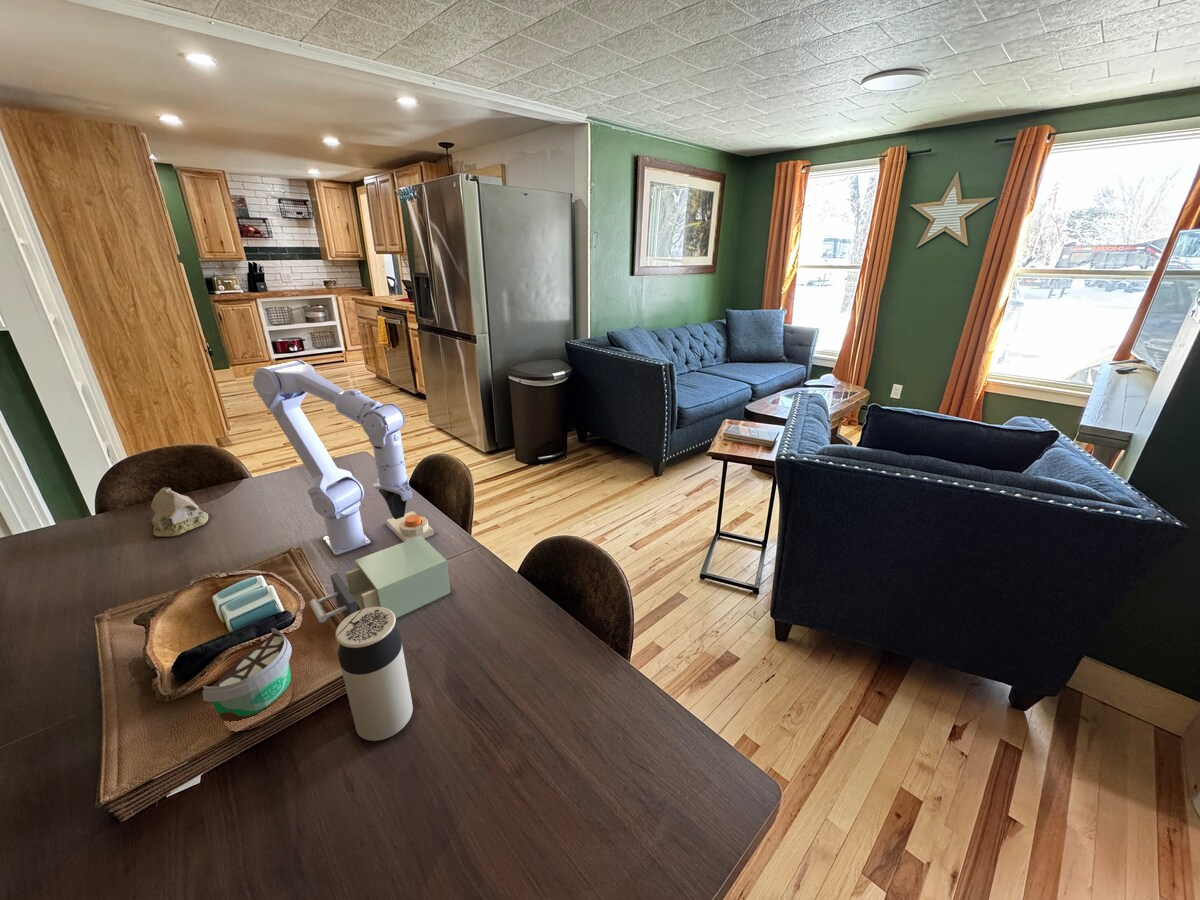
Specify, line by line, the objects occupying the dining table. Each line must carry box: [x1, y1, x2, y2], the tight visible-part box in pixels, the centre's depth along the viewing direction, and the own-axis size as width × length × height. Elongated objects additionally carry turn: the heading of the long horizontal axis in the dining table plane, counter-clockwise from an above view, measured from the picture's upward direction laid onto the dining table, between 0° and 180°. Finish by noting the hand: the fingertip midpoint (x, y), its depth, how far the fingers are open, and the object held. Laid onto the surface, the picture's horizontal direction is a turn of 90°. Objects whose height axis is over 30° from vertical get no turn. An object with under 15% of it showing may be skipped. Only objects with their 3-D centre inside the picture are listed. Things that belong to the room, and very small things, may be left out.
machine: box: [355, 536, 451, 619], centre depth 96 cm, size 14×12×8 cm
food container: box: [202, 628, 293, 722], centre depth 71 cm, size 12×6×10 cm, turn 168°
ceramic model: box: [150, 486, 209, 537], centre depth 118 cm, size 14×11×10 cm
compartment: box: [309, 567, 380, 624], centre depth 91 cm, size 17×11×6 cm, turn 133°
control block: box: [386, 510, 435, 543], centre depth 119 cm, size 12×7×4 cm, turn 43°
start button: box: [405, 513, 422, 527], centre depth 116 cm, size 4×4×2 cm
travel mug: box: [335, 607, 414, 742], centre depth 68 cm, size 8×8×18 cm
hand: (398, 516), depth 106 cm, fingers closed
